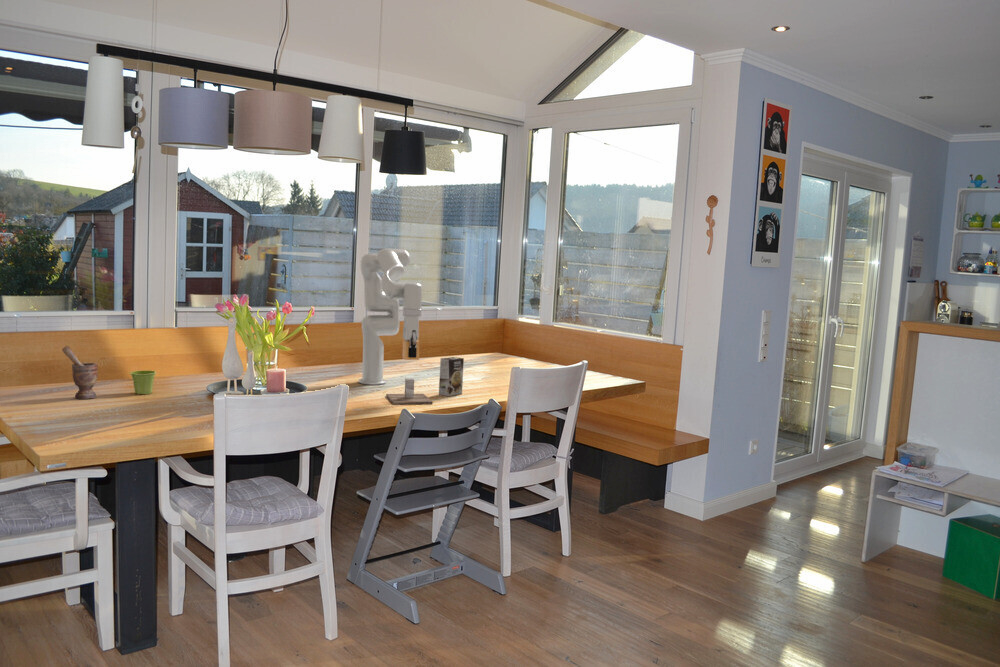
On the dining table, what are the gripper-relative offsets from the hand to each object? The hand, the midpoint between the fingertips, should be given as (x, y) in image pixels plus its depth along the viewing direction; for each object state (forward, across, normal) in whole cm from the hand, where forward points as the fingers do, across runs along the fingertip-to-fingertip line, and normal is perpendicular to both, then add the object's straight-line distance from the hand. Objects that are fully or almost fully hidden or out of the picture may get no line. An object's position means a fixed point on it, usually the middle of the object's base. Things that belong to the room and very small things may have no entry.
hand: (410, 356), depth 319 cm
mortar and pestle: (+18, -13, -125) cm, 127 cm away
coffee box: (+19, -12, +21) cm, 31 cm away
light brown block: (+1, 0, 0) cm, 1 cm away
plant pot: (+18, -21, -104) cm, 108 cm away
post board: (+19, 0, 0) cm, 19 cm away
